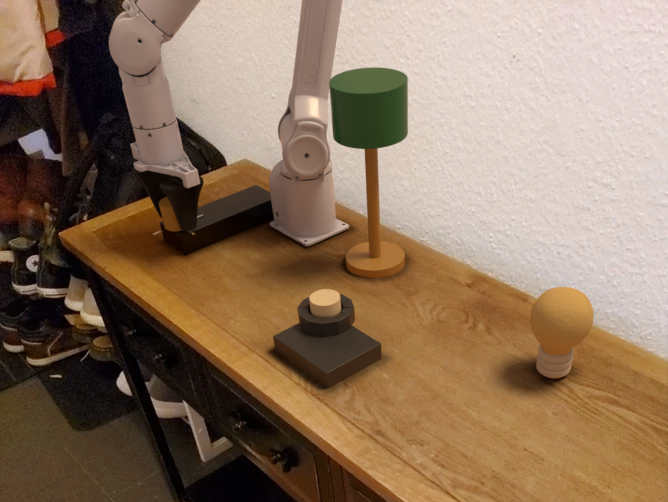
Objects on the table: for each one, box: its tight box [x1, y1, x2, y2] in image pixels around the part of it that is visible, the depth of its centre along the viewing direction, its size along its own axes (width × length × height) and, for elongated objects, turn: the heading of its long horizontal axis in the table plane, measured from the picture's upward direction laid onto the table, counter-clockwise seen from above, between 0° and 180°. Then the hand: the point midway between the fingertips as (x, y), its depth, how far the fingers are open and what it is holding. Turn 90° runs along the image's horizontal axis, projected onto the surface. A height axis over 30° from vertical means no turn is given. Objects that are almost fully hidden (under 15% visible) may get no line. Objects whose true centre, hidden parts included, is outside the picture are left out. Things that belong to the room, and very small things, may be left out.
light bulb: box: [529, 286, 594, 379], centre depth 79 cm, size 6×6×10 cm
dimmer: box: [152, 184, 274, 257], centre depth 109 cm, size 20×8×3 cm, turn 131°
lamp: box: [329, 66, 409, 279], centre depth 93 cm, size 9×9×23 cm
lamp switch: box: [308, 288, 341, 318], centre depth 86 cm, size 4×4×2 cm
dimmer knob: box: [159, 197, 182, 231], centre depth 104 cm, size 4×4×4 cm
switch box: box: [272, 293, 383, 390], centre depth 86 cm, size 11×10×4 cm
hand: (178, 221), depth 105 cm, fingers open, 6 cm apart
